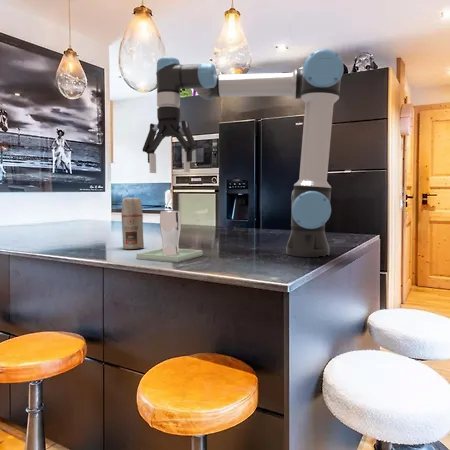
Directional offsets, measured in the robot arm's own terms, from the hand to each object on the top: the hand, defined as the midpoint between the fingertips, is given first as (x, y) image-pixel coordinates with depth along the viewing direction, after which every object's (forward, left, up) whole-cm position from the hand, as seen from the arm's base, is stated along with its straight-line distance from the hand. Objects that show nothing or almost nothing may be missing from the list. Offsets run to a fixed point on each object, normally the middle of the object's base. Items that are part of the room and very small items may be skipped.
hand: (169, 172), depth 136 cm
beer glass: (0, 0, -28) cm, 28 cm away
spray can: (+25, -11, -29) cm, 40 cm away
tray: (0, 0, -28) cm, 29 cm away
